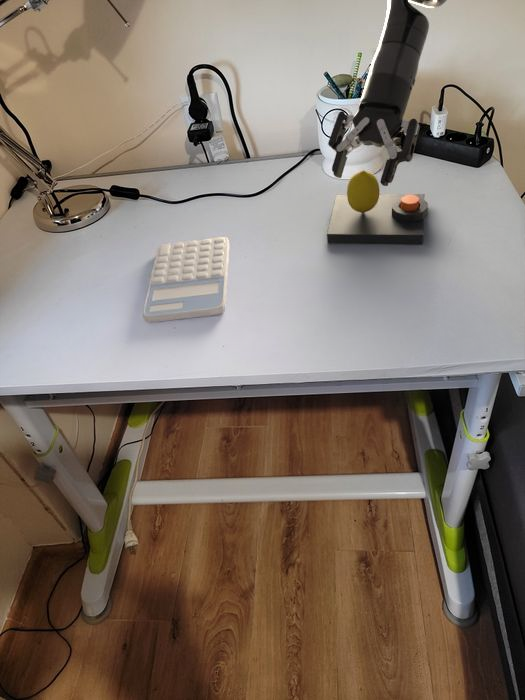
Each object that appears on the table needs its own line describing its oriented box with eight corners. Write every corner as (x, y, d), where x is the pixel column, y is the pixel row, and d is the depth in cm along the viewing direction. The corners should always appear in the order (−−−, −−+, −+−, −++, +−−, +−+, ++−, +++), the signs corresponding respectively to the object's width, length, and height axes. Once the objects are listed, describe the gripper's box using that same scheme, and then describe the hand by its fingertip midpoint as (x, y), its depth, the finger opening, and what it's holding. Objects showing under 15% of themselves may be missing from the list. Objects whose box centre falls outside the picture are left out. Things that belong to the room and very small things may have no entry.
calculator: (230, 242, 93) (228, 233, 92) (225, 315, 79) (223, 306, 78) (159, 251, 94) (157, 242, 93) (143, 324, 80) (139, 316, 79)
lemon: (344, 221, 89) (343, 179, 84) (350, 204, 93) (349, 162, 87) (376, 222, 88) (377, 179, 82) (381, 205, 91) (382, 163, 86)
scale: (426, 203, 93) (428, 185, 91) (425, 244, 85) (427, 226, 82) (336, 203, 97) (335, 187, 95) (327, 243, 89) (326, 226, 86)
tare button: (418, 202, 88) (419, 194, 87) (418, 211, 86) (419, 203, 85) (401, 202, 89) (401, 194, 88) (400, 211, 87) (400, 203, 86)
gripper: (342, 68, 83) (313, 167, 85) (428, 73, 76) (394, 180, 78) (357, 89, 90) (329, 181, 92) (437, 96, 83) (405, 194, 85)
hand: (359, 180), depth 85 cm, fingers open, 8 cm apart
